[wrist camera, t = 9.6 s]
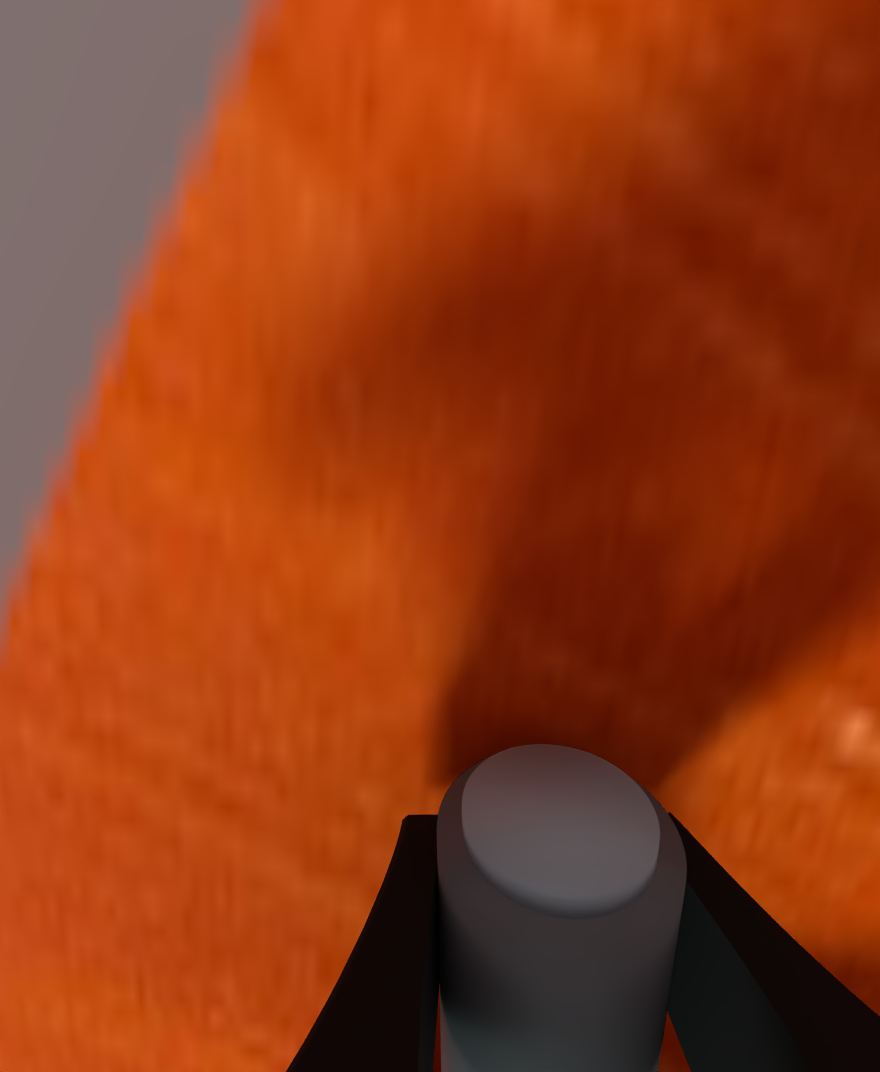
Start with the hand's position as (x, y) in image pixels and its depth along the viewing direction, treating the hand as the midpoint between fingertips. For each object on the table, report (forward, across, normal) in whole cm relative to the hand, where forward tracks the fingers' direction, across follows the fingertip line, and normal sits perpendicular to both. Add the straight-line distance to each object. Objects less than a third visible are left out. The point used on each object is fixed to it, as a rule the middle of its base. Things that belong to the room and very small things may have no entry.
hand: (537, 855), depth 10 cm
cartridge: (+1, 0, +4) cm, 4 cm away
